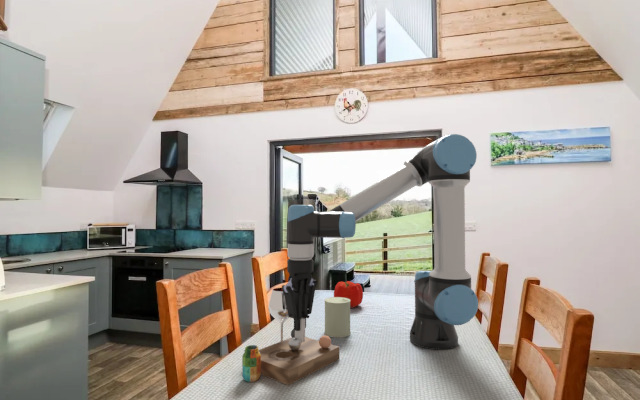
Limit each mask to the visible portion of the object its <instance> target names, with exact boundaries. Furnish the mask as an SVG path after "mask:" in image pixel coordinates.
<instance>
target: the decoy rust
mask: <svg viewBox="0 0 640 400" xmlns="http://www.w3.org/2000/svg"><path fill="white" fill-rule="evenodd" d="M318 341H319V345H320V346H321V347H322V348H328V347H329V346H330V345H331V344H332V338H330V336H327V335H325V334H324V335H322V336H320V337H319V339H318Z"/></svg>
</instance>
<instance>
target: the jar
mask: <svg viewBox="0 0 640 400" xmlns="http://www.w3.org/2000/svg"><path fill="white" fill-rule="evenodd" d="M259 350H260V349H259V346H258V345H253V344H251V345H246V346H245V348H244V353H243V354H242V355H241V356H242V361H241V362H242V366H241V367H242V368H241V369H242V372H241V373H242V378H243V380H244V381H245V382H246V383H247V382H248V383H253V382H257V381H258V380H259V379H260V377H261V374H260V373H261V354H260V352H259Z"/></svg>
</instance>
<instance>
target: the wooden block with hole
mask: <svg viewBox="0 0 640 400" xmlns="http://www.w3.org/2000/svg"><path fill="white" fill-rule="evenodd" d="M291 338H292V337H289V338H286V339H283V341H281V342H280V341H278V342H276V343H273V344H270V345H268V346H265V347H262V348H260V349H259V352H260V354H261V373H260V375H262V376H264V377H267V378H268V379H269V378H270V379H272V380H275V381H276V382H279V383H281V384H284V385H286V386H290V385H292V384H294V383H296V382H299V380H302V379H304V378H305V377H308V376H309V375H312V374H314V373H315V372H317V371H320V370H322V369H324V368H325V367H327V366H329V365H331V364H333V363H336V362H337V361H339V360H340V346H338V345H334V344H332V343H331V345H330V346H329V347H328V348H322V347H321V346H320V345H319V339H314V338H310V337H306V336H305V342H302V343H301V346H300V348H299V349H298V350H296V351H294V350H291V349H290V348H289V340H290V339H291Z"/></svg>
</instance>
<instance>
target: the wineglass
mask: <svg viewBox="0 0 640 400" xmlns="http://www.w3.org/2000/svg"><path fill="white" fill-rule="evenodd" d="M268 312H269V314H270V316H271V317H273V318H274V319H275V320H276V321H277V322H278V324H279V331H280V332H279V333H280V335H279V336H280V338H279V340H280V341H279V342H281V341H284V339H283V338H284V335H283V334H284V331H283V330H284V323H285V322H286V321H287V320H288V319H289V318H290V317H288V312H287V306H286V300H285V295H284V292H283V290H282V287H274V288H273V289H272V291H271V293H270V298H269V301H268Z"/></svg>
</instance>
